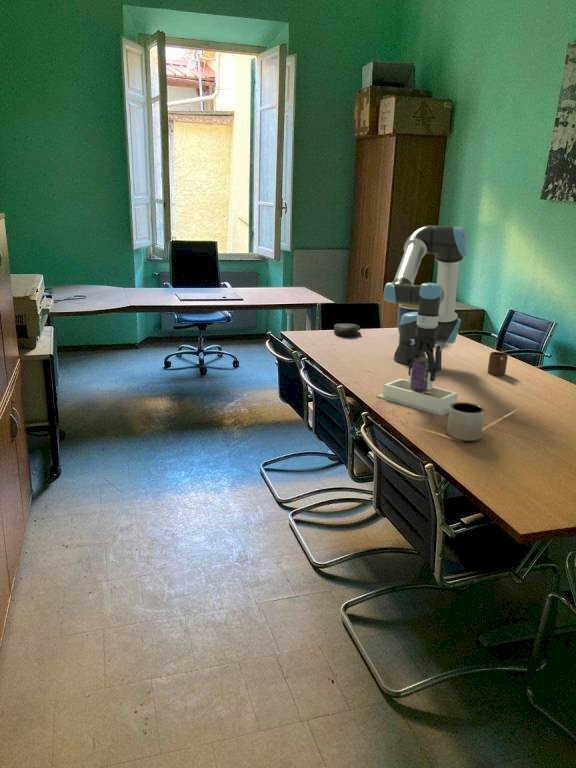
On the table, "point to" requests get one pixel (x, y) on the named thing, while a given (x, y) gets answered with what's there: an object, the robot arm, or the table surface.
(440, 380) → the table surface
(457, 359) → the table surface
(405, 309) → the planter
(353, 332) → the dark grey rounded block
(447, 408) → the white rectangular tray
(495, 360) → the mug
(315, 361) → the table surface
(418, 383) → the beverage can
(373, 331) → the table surface
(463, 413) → the planter
